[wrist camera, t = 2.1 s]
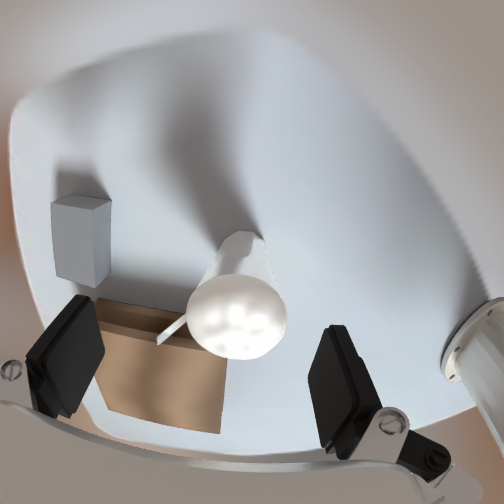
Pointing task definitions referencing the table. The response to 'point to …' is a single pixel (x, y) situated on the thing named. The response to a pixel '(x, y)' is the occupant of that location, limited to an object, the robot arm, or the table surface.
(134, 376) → the stand
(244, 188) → the table surface
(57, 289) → the table surface
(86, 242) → the block
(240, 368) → the table surface
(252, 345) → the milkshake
